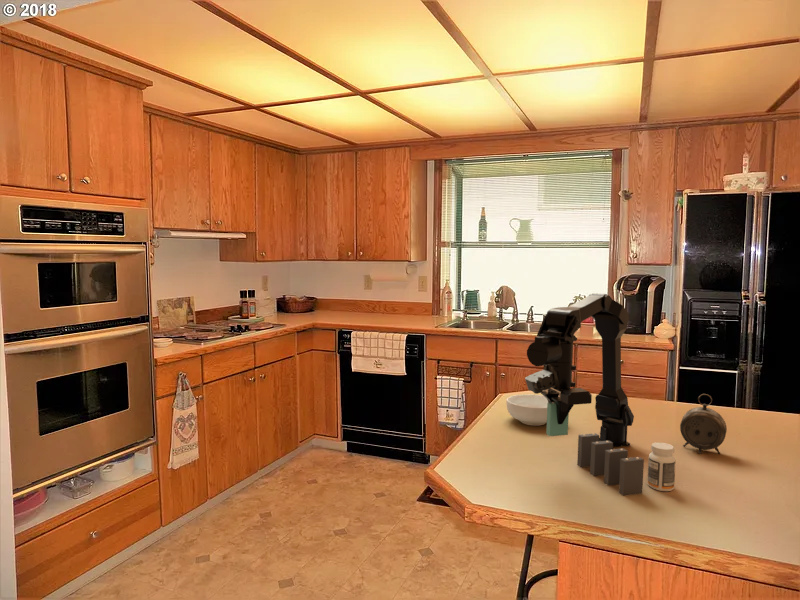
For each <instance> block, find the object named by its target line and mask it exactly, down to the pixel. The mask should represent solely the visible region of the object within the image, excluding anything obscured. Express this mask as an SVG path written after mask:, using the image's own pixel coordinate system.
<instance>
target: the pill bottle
mask: <svg viewBox="0 0 800 600" xmlns="http://www.w3.org/2000/svg"><path fill="white" fill-rule="evenodd" d="M650 449H651V452H650V453H649V455H648V465H647V466H648V469H647V485H648V486H649V487H650V488H652V489H653V490H657V491H658V492H671V491H673V490H674V489H675V481H676V460H677V459H676V457H675V456H674V455H673V454H674V452H675V451H674V450H675V449H674V446H673V445H672V444H669V443H666V442H658V441H657V442H653V443H651V447H650Z"/></svg>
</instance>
